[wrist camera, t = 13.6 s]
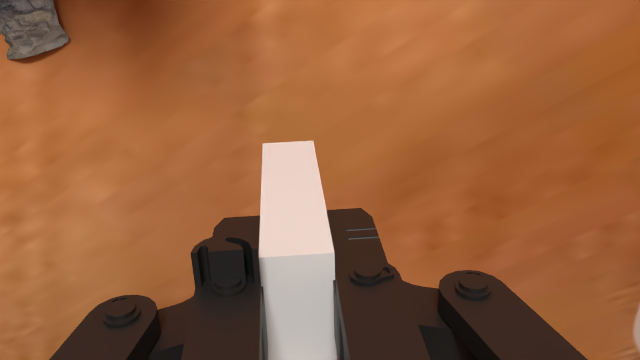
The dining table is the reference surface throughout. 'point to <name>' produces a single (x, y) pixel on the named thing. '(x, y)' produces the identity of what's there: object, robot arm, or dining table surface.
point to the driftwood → (30, 27)
